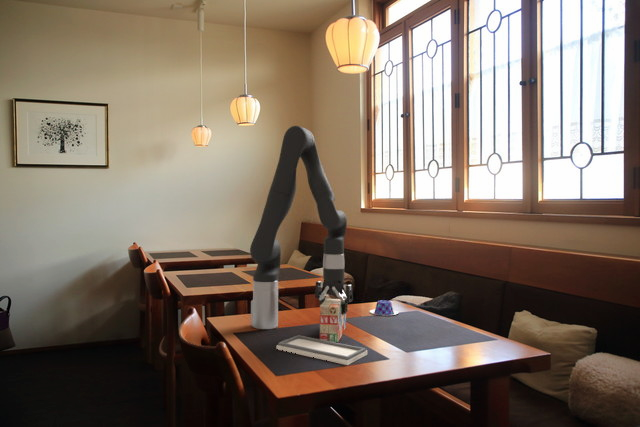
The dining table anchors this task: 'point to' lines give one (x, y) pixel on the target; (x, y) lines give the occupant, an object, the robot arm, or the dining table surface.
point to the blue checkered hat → (384, 308)
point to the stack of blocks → (331, 320)
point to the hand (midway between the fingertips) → (333, 312)
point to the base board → (322, 349)
